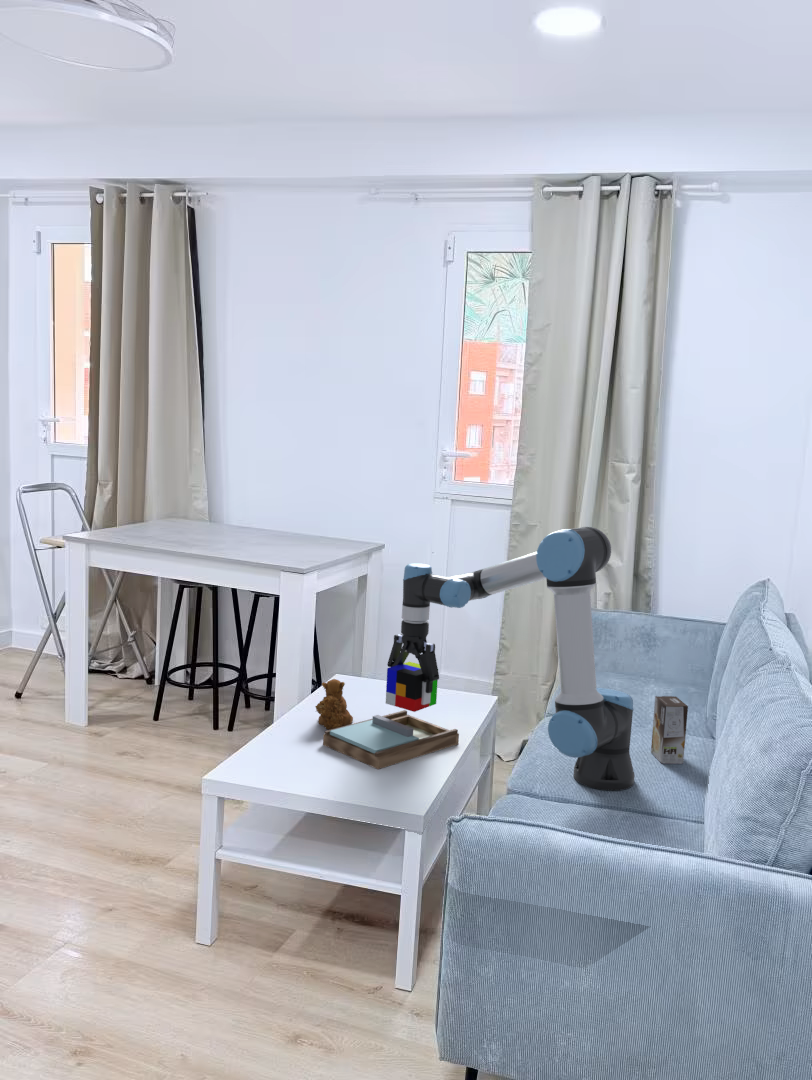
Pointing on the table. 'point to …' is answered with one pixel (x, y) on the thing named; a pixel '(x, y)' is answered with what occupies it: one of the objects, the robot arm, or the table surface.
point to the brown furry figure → (333, 706)
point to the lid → (376, 734)
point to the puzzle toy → (407, 687)
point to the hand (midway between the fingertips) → (411, 698)
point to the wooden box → (428, 742)
